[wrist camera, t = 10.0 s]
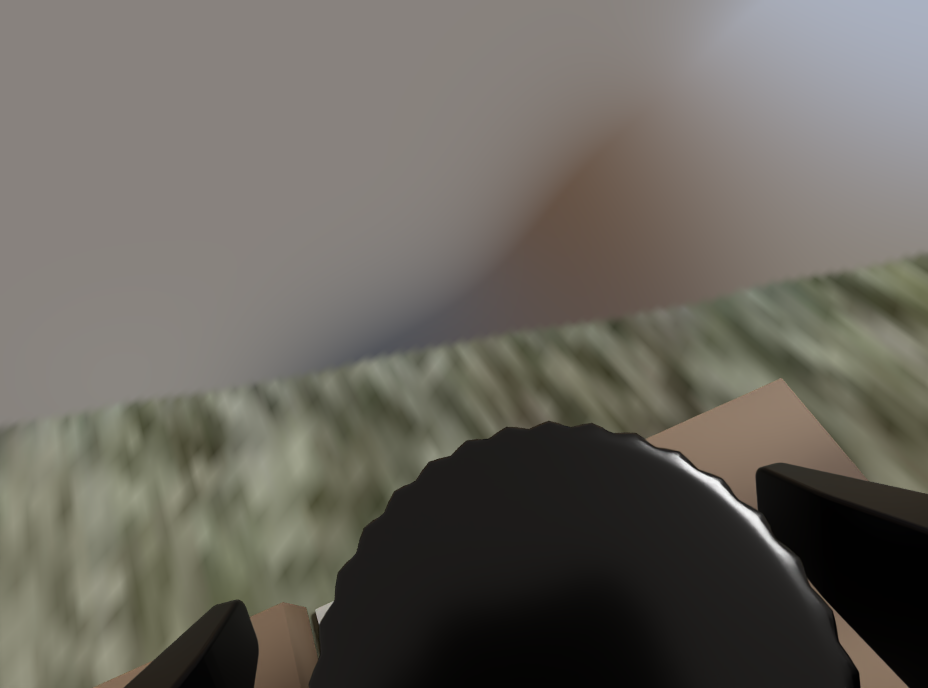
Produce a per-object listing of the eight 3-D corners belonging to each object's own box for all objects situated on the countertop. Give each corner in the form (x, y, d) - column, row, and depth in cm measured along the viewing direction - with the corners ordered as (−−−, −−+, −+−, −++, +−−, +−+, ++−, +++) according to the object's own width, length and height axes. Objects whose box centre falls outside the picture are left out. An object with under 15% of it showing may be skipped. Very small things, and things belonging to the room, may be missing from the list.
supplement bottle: (414, 526, 17) (279, 327, 6) (630, 529, 16) (859, 323, 6) (394, 805, 13) (25, 1359, 3) (668, 819, 13) (1369, 1529, 2)
